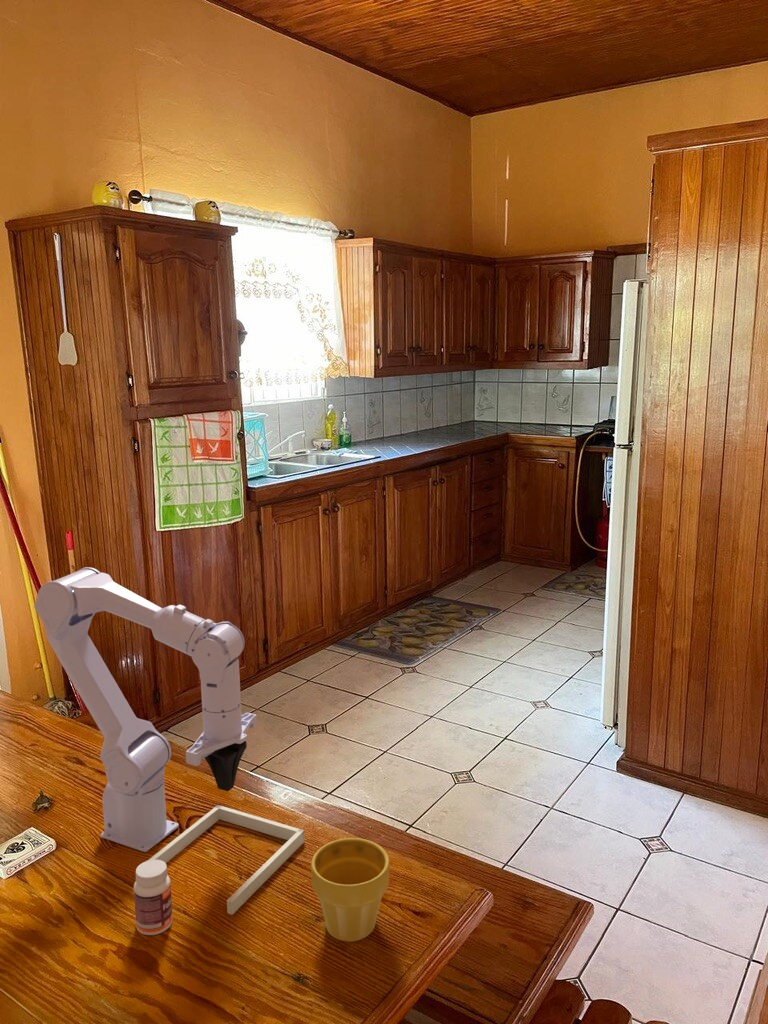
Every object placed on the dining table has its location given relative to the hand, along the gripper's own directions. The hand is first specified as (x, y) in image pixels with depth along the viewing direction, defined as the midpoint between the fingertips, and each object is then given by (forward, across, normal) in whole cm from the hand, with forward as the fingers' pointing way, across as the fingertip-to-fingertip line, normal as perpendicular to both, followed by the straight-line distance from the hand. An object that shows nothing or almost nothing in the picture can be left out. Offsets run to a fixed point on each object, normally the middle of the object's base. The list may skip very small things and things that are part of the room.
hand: (225, 787), depth 122 cm
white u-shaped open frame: (+10, -3, -1) cm, 11 cm away
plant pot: (+11, -6, -26) cm, 28 cm away
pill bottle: (+10, -18, -2) cm, 21 cm away
